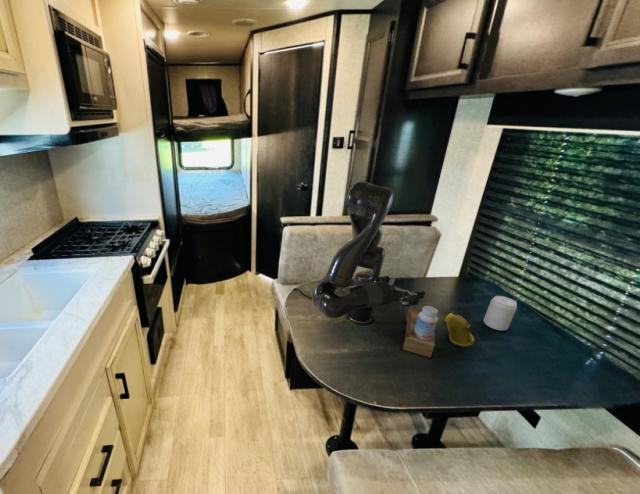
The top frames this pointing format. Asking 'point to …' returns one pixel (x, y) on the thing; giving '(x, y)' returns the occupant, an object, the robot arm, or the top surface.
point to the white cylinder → (500, 313)
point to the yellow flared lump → (459, 330)
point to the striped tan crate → (414, 342)
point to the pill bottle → (426, 323)
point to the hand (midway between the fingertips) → (413, 287)
